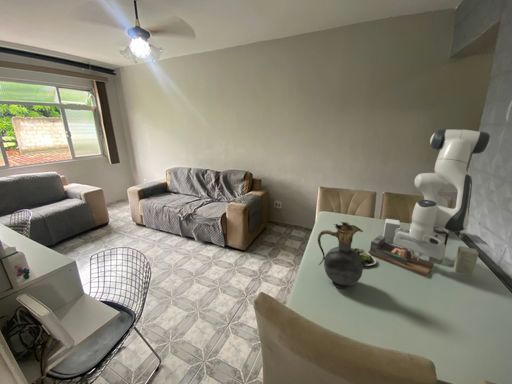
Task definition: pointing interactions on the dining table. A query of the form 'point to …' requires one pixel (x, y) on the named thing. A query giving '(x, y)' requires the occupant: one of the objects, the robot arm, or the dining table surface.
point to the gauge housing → (398, 257)
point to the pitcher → (342, 257)
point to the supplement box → (390, 229)
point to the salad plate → (365, 258)
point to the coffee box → (445, 235)
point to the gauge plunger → (400, 252)
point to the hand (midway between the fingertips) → (415, 259)
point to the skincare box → (465, 260)
